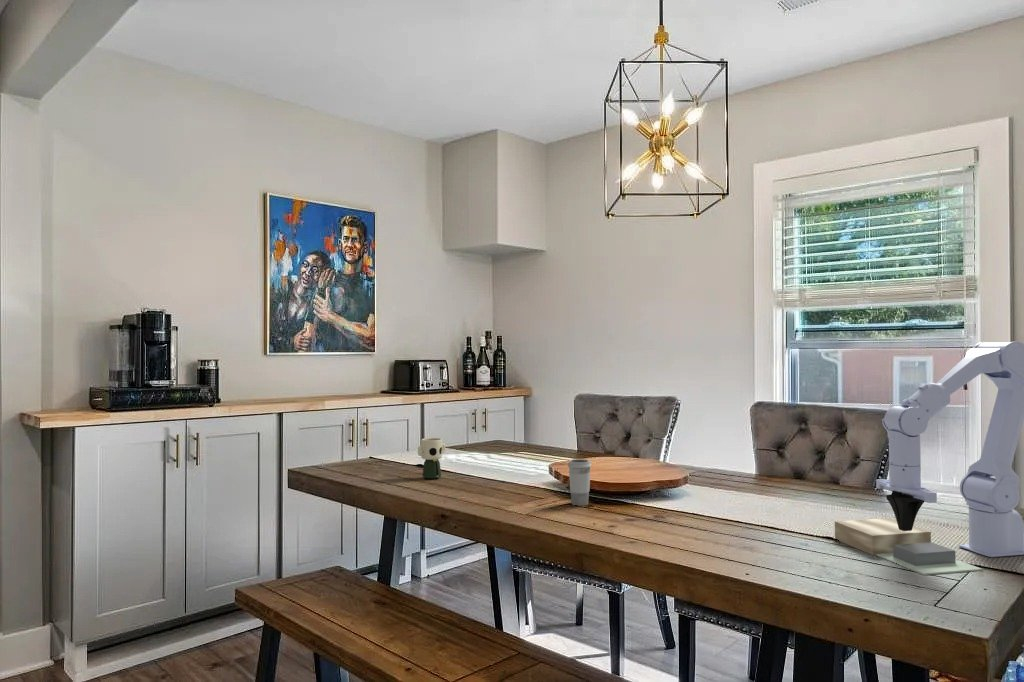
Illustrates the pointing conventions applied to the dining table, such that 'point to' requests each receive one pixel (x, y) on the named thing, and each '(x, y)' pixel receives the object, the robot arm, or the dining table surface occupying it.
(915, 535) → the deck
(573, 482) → the cup
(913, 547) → the slate tile
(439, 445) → the character mug
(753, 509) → the dining table surface
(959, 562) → the mat
